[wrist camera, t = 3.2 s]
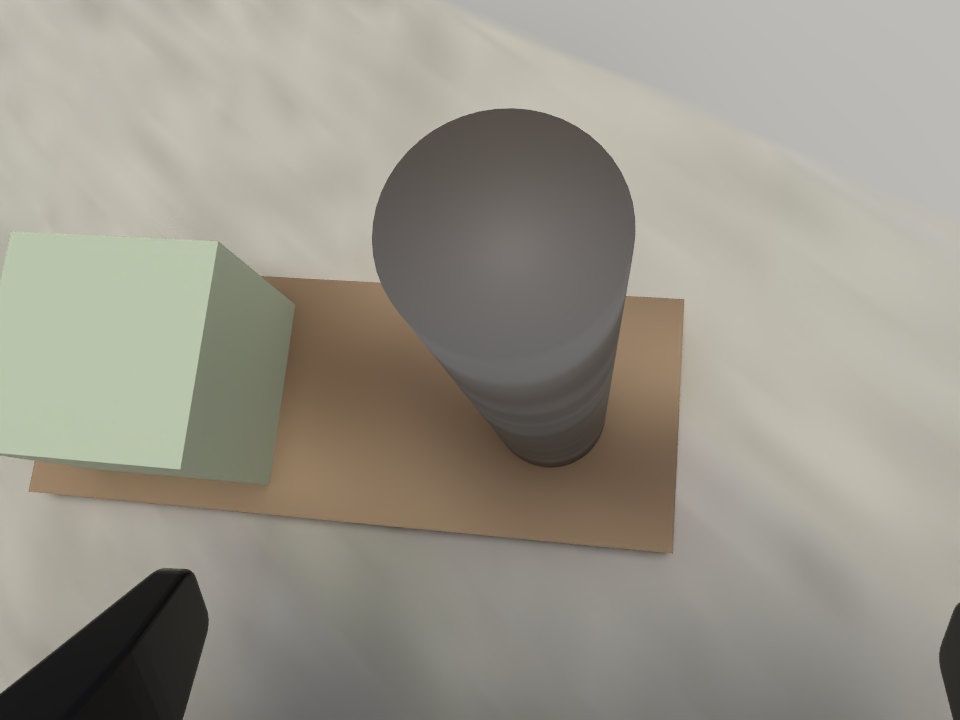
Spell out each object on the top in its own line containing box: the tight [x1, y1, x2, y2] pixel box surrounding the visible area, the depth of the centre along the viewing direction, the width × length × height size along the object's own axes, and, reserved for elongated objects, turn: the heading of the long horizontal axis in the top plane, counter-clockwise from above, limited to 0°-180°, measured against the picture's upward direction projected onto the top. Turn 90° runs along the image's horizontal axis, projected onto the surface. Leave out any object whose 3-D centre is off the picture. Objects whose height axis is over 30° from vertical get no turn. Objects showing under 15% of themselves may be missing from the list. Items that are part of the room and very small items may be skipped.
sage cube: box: [0, 231, 295, 485], centre depth 19 cm, size 5×5×5 cm
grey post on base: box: [29, 108, 684, 554], centre depth 15 cm, size 6×16×13 cm, turn 85°
